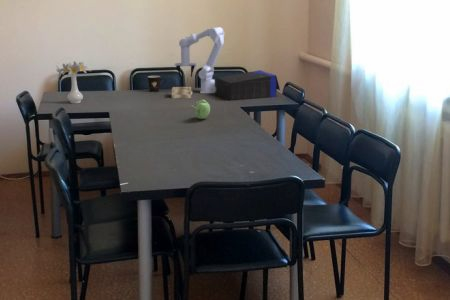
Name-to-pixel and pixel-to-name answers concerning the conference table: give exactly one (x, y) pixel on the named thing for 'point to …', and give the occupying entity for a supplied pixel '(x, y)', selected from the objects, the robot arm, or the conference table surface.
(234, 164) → the conference table surface
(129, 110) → the conference table surface
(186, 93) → the box
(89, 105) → the conference table surface
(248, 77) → the headphone box
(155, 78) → the coffee mug
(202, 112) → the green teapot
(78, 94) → the flower vase
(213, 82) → the robot arm
